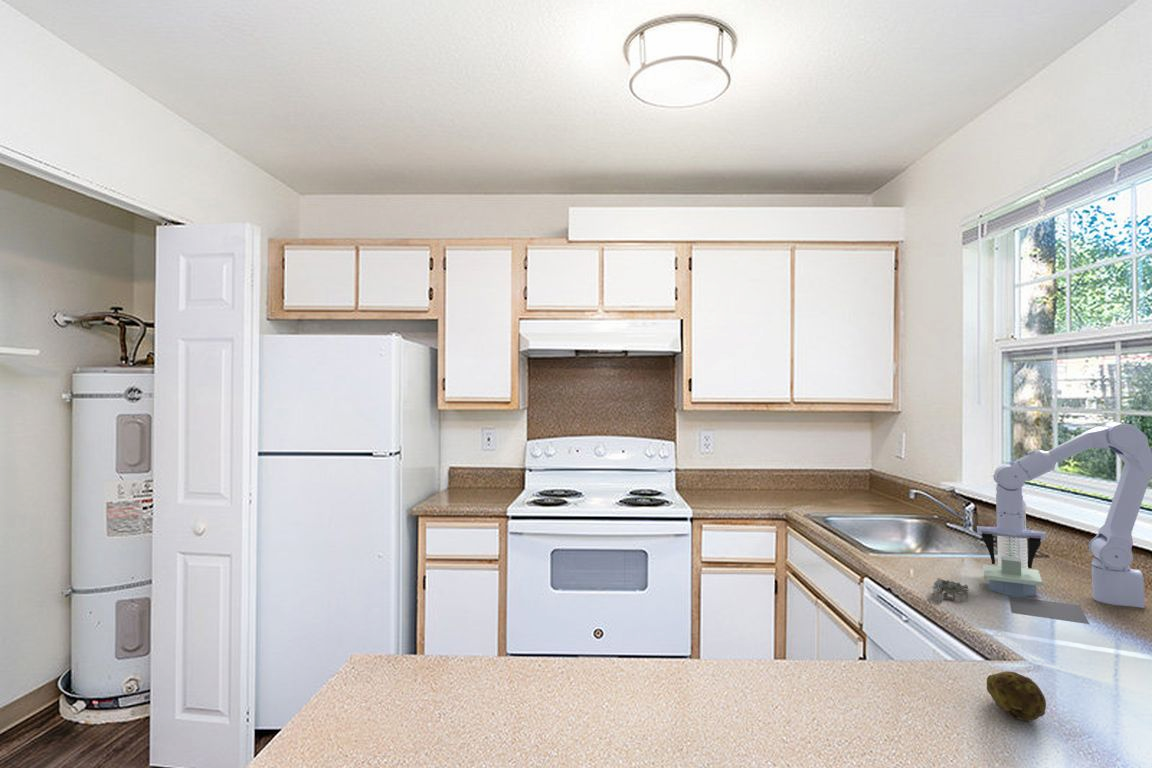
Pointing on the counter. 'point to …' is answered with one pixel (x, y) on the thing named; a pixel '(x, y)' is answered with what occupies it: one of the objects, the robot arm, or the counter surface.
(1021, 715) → the potato
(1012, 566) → the lid
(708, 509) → the counter surface
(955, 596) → the egg carton
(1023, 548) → the water bottle
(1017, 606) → the mat
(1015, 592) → the bowl
